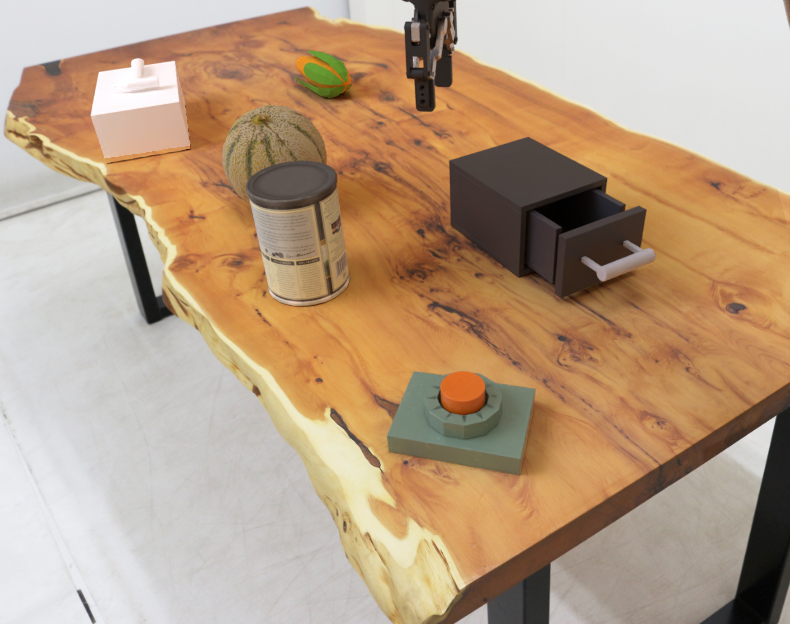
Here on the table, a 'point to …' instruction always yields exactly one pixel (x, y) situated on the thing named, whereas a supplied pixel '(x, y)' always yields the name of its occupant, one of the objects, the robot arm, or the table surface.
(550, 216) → the dark drawer
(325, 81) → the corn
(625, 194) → the table surface
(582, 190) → the small drawer cabinet
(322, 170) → the coffee can
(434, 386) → the control block
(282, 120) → the cantaloupe
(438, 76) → the robot arm
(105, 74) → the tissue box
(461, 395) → the button
